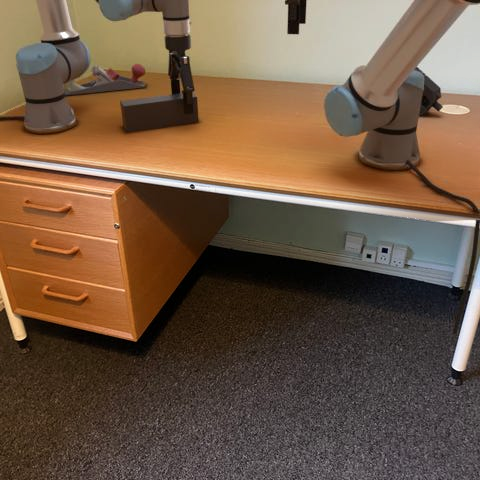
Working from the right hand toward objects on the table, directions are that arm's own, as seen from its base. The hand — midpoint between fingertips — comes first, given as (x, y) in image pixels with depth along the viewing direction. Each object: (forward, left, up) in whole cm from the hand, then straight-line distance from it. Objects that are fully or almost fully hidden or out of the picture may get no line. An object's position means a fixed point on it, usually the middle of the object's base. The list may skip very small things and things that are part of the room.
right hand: (296, 28), depth 132 cm
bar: (+20, +38, -31) cm, 53 cm away
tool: (+25, -41, -31) cm, 57 cm away
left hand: (+23, +32, -26) cm, 47 cm away
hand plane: (+61, +62, -31) cm, 92 cm away
